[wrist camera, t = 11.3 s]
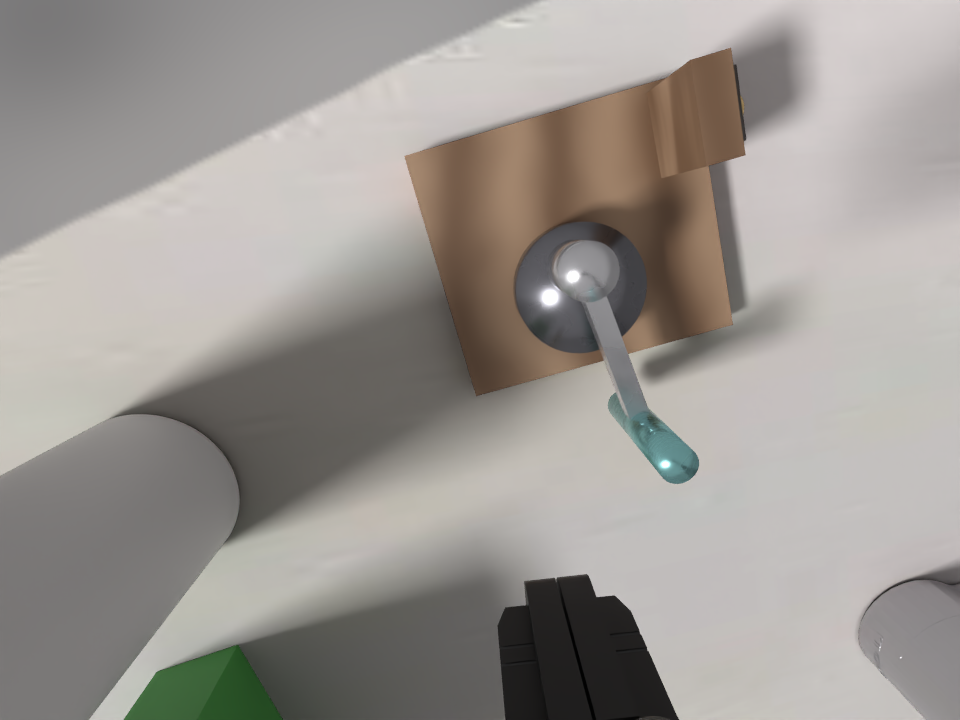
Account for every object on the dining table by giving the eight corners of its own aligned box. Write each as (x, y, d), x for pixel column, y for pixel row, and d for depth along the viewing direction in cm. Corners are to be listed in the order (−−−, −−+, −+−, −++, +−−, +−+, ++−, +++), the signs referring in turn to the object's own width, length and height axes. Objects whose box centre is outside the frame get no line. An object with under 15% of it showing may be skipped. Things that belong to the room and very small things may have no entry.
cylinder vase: (53, 525, 38) (-667, 1041, 14) (98, 382, 35) (-696, 713, 11) (213, 582, 40) (-177, 1132, 15) (267, 451, 37) (-102, 866, 13)
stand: (687, 77, 32) (760, 27, 24) (725, 317, 36) (797, 341, 28) (407, 160, 32) (390, 138, 25) (475, 387, 36) (478, 429, 29)
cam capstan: (494, 253, 32) (507, 263, 22) (611, 201, 31) (678, 187, 21) (569, 434, 35) (610, 511, 25) (677, 389, 34) (761, 451, 25)
